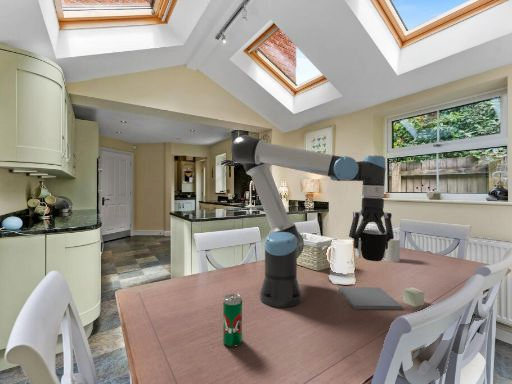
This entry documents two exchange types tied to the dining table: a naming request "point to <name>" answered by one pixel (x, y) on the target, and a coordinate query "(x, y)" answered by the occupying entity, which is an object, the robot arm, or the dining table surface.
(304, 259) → the storage basket
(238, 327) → the soda can
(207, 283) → the dining table surface
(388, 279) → the dining table surface
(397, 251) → the cup
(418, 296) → the sage block
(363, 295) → the slate trivet
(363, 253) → the mug
